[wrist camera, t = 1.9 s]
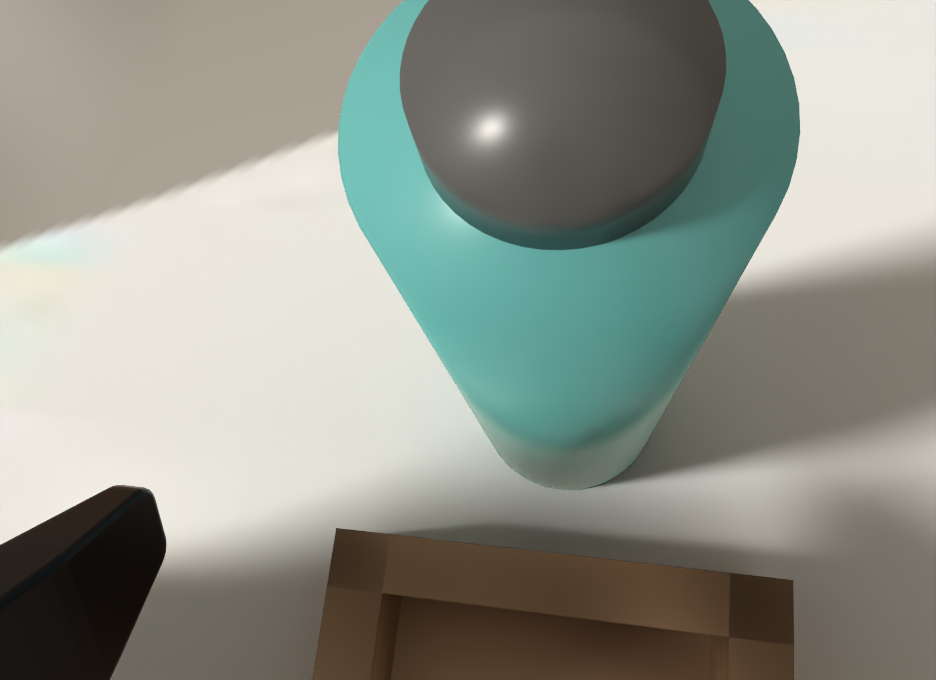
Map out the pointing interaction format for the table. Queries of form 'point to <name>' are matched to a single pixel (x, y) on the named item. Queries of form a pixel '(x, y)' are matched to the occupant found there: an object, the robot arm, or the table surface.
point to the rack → (542, 616)
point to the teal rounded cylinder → (568, 202)
